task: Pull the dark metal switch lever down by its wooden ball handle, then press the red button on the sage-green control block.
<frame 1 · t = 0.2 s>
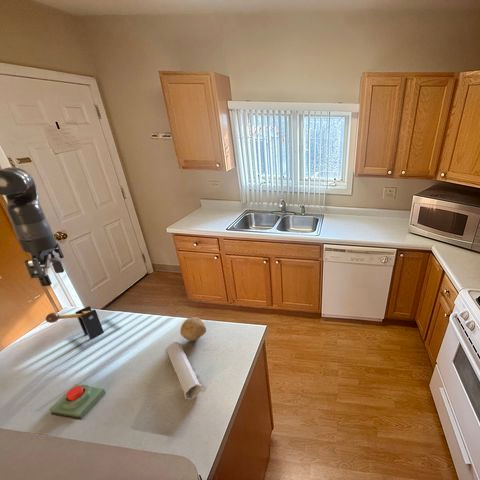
hand: (54, 278, 85), 31 cm above the counter, tool pointing down, fingers open, 8 cm apart
switch lever: (70, 316, 94), point 14 cm above the counter, hinge at 30.0°
start button: (75, 393, 77), point 4 cm above the counter, slide at 0.1 cm
button block: (79, 403, 79), on the counter
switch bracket: (95, 336, 103), on the counter
tube: (183, 371, 91), on the counter
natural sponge: (194, 338, 105), on the counter
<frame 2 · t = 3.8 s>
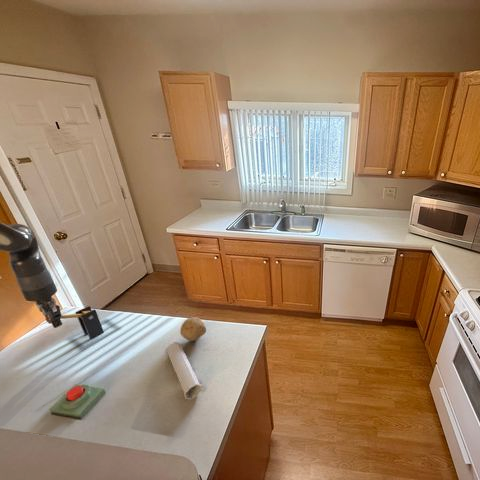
hand: (55, 324, 90), 13 cm above the counter, tool pointing down, fingers closed on switch lever, 3 cm apart
switch lever: (70, 316, 94), point 14 cm above the counter, hinge at 30.0°, touching gripper
everything else where it was.
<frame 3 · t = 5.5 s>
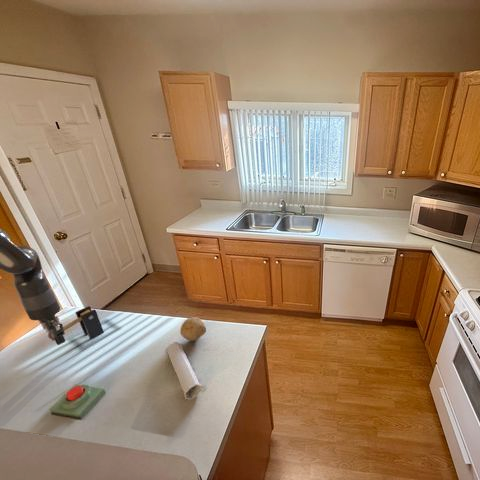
hand: (58, 340, 92), 6 cm above the counter, tool pointing down, fingers closed on switch lever, 3 cm apart
switch lever: (71, 324, 95), point 10 cm above the counter, hinge at -9.6°, touching gripper
everything else where it was.
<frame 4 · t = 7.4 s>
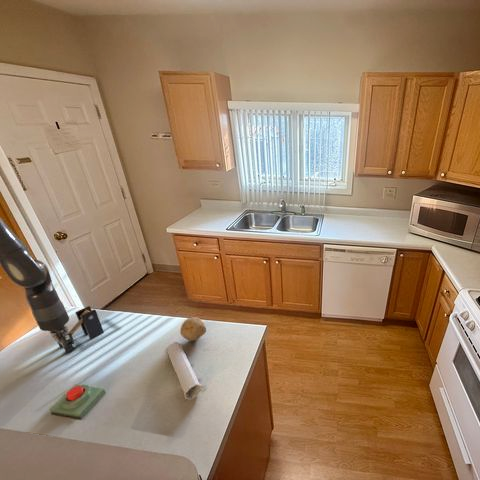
hand: (67, 349, 95), 1 cm above the counter, tool pointing down, fingers open, 4 cm apart
switch lever: (76, 327, 96), point 8 cm above the counter, hinge at -35.5°
everything else where it was.
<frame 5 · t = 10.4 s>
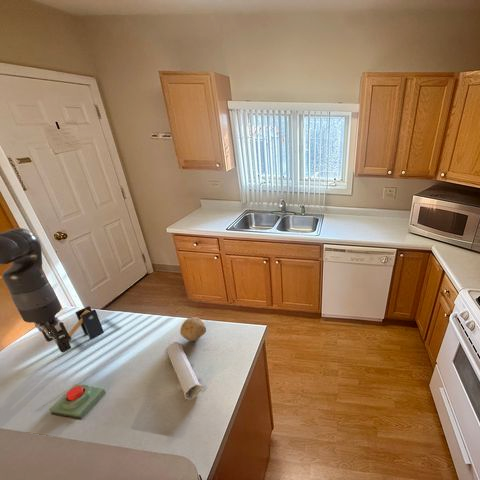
hand: (59, 344, 76), 19 cm above the counter, tool pointing down, fingers open, 8 cm apart
nothing on the counter moved.
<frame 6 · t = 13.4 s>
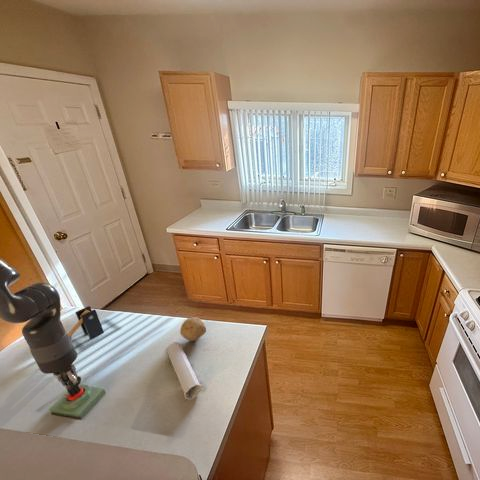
hand: (75, 392, 77), 5 cm above the counter, tool pointing down, fingers closed
start button: (75, 394, 77), point 4 cm above the counter, slide at -0.5 cm, touching gripper
everything else where it was.
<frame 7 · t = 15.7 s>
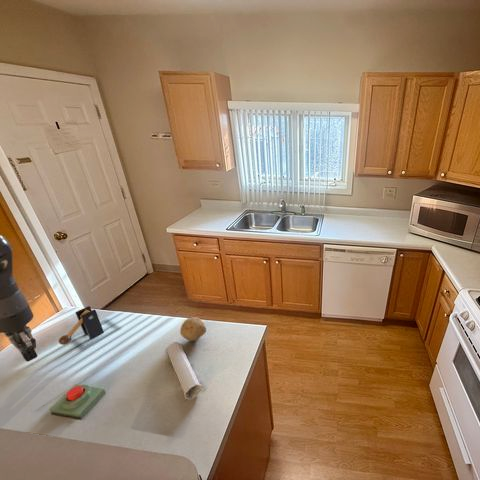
hand: (31, 358, 71), 19 cm above the counter, tool pointing down, fingers closed
start button: (75, 393, 77), point 4 cm above the counter, slide at 0.1 cm
everything else where it was.
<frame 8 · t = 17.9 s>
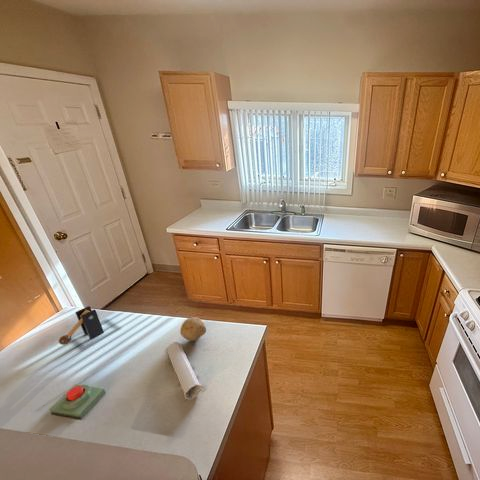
nothing on the counter moved.
at the end: switch lever at -36° (first picture: +30°); start button pushed in 1.1 cm at the most during the clip, back to where it started at the end; start button slide at 0.1 cm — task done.
